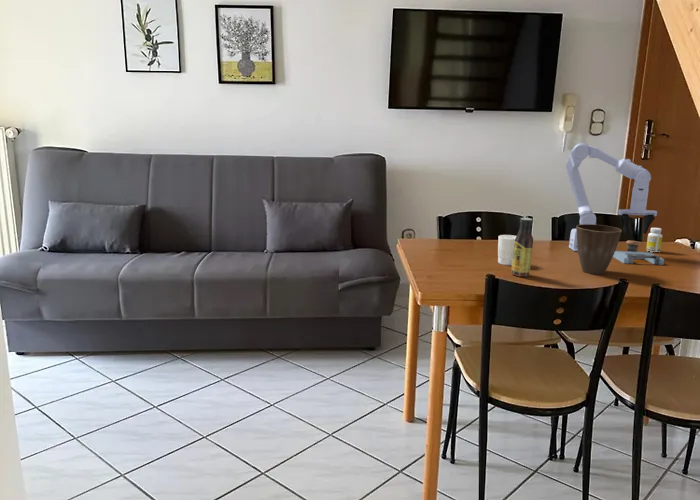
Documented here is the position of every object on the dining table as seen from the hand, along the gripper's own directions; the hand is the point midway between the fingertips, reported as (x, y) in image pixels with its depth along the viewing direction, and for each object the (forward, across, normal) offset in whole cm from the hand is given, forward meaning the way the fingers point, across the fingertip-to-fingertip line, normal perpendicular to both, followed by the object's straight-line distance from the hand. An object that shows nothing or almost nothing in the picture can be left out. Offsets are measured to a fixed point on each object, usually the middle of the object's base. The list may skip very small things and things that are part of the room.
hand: (634, 233), depth 246 cm
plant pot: (+9, -26, -31) cm, 41 cm away
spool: (+9, 0, 0) cm, 9 cm away
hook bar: (+9, -2, -15) cm, 18 cm away
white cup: (+9, -55, -23) cm, 60 cm away
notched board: (+9, -2, -9) cm, 13 cm away
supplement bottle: (+9, +12, +8) cm, 17 cm away
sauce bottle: (+9, -54, -40) cm, 68 cm away
